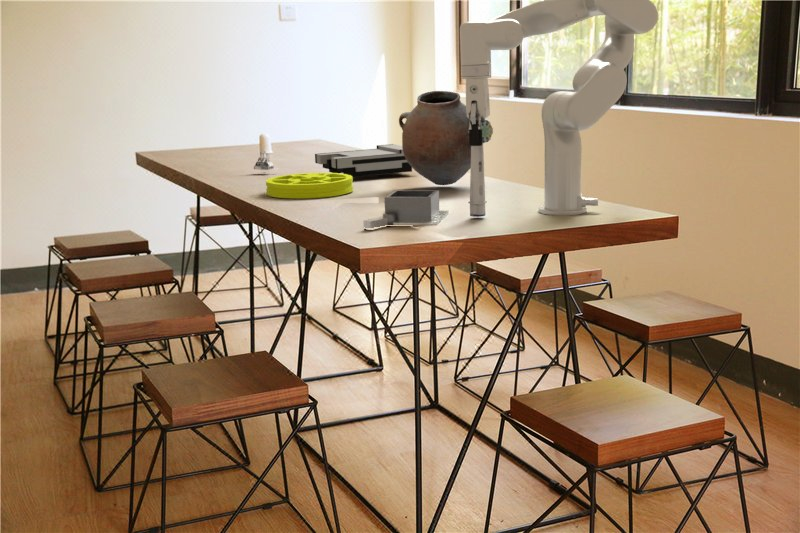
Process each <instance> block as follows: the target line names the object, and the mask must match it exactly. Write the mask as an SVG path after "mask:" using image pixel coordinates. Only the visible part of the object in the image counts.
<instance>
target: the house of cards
mask: <svg viewBox="0 0 800 533" xmlns="http://www.w3.org/2000/svg"><path fill="white" fill-rule="evenodd" d="M253 170H255V171H256V170H261V171H263V170H264V171H270V170H271V171H272V170H275V165H274V164H273V162H272V161H271V160H270V159H269V157H267V153H266V150H265V149H264V148H263V149H261V151H260V157H258V159H257V161H256V162H255V164H254V166H253ZM276 170H279V168H276Z"/></svg>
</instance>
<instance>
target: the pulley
mask: <svg viewBox="0 0 800 533" xmlns="http://www.w3.org/2000/svg"><path fill="white" fill-rule="evenodd" d="M353 181H354V177H352V176H351V175H348V174H343V173H331V172H304V173H293V174H284V175H278V176H273V177H269V178H267V179H266V180H265V186H266V195H267V196H268V197H273V198H279V199H318V198H320V199H321V198H329V197H336V196H342V195H345V194H346V195H347V194H349V193H352V192H353V191H354V185H353Z"/></svg>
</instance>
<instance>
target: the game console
mask: <svg viewBox="0 0 800 533" xmlns="http://www.w3.org/2000/svg"><path fill="white" fill-rule="evenodd" d="M314 158H315V159H314V160H315V161H314V162H315V164H317V165H322V168H323V169H326V170H328V173H340V174H348V175H351V176H352V177H353V178H357V177H358V178H359V177H370V176H381V175H388V174H389V175H390V174H401V173H409V172H413V168H412V167H411V166H410V164H409V163H408V161H407V160H406V158H405V156H404V153H403V148H402V145H401V144H394V143H390V144H381V145H380V144H379V145H378V144H377V145H376V148H372V149H371V148H370V149H368V148H367V149H358V150H356V149H355V150H346V151H334V152H321V153H314Z"/></svg>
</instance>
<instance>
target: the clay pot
mask: <svg viewBox="0 0 800 533" xmlns="http://www.w3.org/2000/svg"><path fill="white" fill-rule="evenodd" d="M416 99H417V101H416V103H417V105H415V107H414V108H412V110H410V111H405V112H402V113H401V114H400V116H399V118H398V124H399V127H400V128H401V129H402V133H401V134H402V135H401V139H402V140H401V143H402V144H401V146H402V148H403V153H404V156H405V158H406V160H407V161H408V163H409V164H410V166H411V167H412V170H414V171H415V172H416V173H417V174H418V175H420V176H422V177H423V178H425V179H426V180H428V181H430V183H433V184H435V185H437V186H449V185H453V184H455V183H457V182H458V181H459V180H460V179H462V178H463V177H464V176H465V175H466V174H467V173H468V172H469V171H470V170H471V146H470V145H469V124H470V119H469V118H467V112H466V104H464V103H463V102H462V101H461V95H460V93H458V92H455V91H453V92H452V91H446V90H444V91H443V90H433V91H427V92H424V93H421V94H419V95H418V96H417V98H416ZM404 119H405V121H403V120H404Z"/></svg>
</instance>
